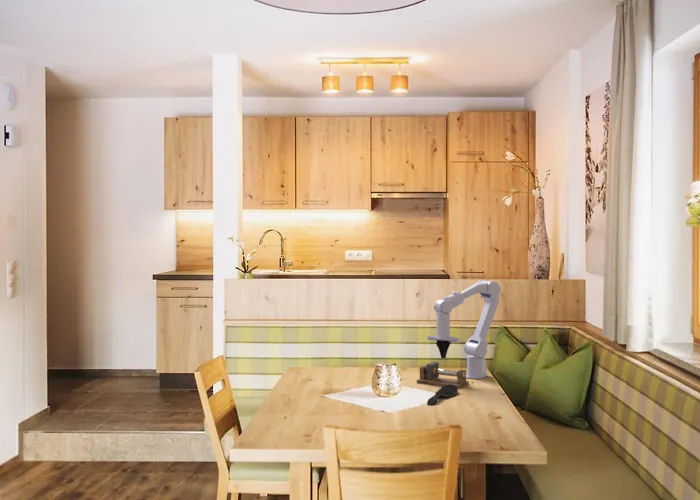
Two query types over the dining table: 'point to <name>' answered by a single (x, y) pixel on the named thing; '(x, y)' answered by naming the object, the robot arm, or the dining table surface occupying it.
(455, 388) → the hairbrush
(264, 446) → the dining table surface
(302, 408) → the dining table surface
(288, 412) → the dining table surface
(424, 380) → the pipe stand
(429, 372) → the collar
